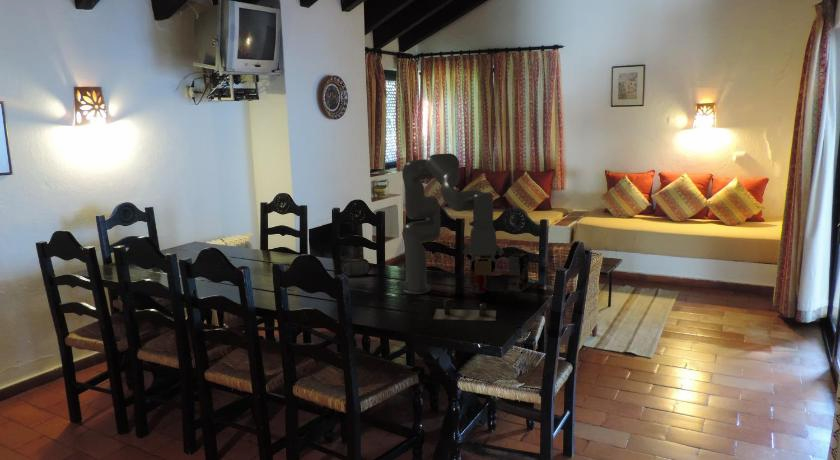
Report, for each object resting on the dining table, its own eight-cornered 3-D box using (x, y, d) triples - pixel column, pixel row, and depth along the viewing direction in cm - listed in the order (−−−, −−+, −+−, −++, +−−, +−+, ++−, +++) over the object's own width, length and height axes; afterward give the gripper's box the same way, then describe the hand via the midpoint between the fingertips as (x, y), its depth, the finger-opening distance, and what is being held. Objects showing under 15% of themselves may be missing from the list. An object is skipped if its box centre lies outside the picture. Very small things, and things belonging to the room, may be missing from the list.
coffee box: (521, 292, 268) (521, 257, 265) (507, 290, 272) (508, 255, 269) (528, 287, 276) (529, 253, 273) (515, 285, 279) (516, 251, 276)
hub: (479, 316, 235) (479, 305, 234) (479, 313, 237) (479, 302, 236) (486, 316, 234) (486, 305, 233) (486, 314, 237) (486, 303, 236)
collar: (474, 274, 230) (474, 262, 229) (475, 270, 236) (475, 258, 235) (491, 275, 229) (491, 262, 228) (491, 270, 235) (491, 258, 234)
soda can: (485, 294, 266) (485, 266, 264) (469, 293, 268) (469, 265, 265) (487, 290, 273) (487, 262, 271) (471, 289, 275) (471, 261, 272)
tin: (369, 273, 305) (369, 257, 304) (371, 275, 302) (370, 258, 301) (340, 276, 301) (339, 259, 300) (341, 277, 298) (340, 261, 297)
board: (433, 321, 233) (432, 305, 231) (436, 311, 244) (436, 295, 243) (495, 323, 229) (495, 306, 228) (495, 313, 241) (496, 297, 240)
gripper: (459, 227, 226) (460, 273, 230) (506, 227, 224) (505, 273, 227) (460, 223, 234) (461, 268, 237) (506, 223, 231) (505, 268, 235)
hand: (483, 270), depth 232 cm, fingers closed on collar, 6 cm apart
